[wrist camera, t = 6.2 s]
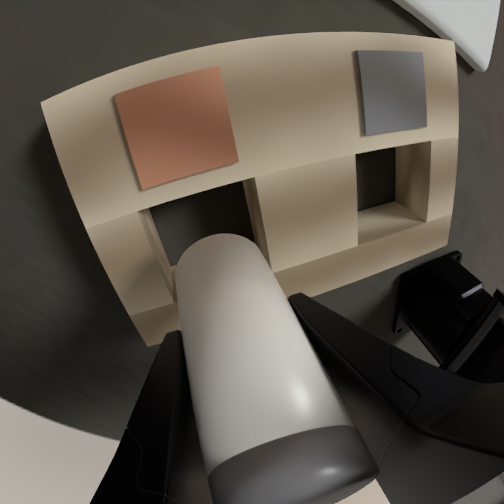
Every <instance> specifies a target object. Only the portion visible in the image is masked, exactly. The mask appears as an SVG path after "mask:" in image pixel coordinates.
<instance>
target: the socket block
mask: <svg viewBox="0 0 504 504" xmlns="http://www.w3.org/2000/svg"><path fill="white" fill-rule="evenodd" d="M41 106H42V109H43V113H44V116H45V120H46V123H47V126H48V130H49V133H50V136H51V139H52V142H53V145H54V148H55V151H56V154H57V157H58V160H59V163H60V166H61V168H62V171H63V174H64V177H65V179H66V182H67V184H68V187H69V190H70V192H71V195H72V197H73V200H74V202H75V205H76V207H77V209H78V212H79V214H80V217H81V219H82V221H83V224H84V226H85V228H86V230H87V233H88V235H89V237H90V239H91V242H92V244H93V246H94V248H95V250H96V252H97V254H98V256H99V259H100V261H101V263H102V265H103V267H104V269H105V271H106V273H107V275H108V277H109V279H110V281H111V283H112V285H113V287H114V288H115V290H116V292H117V294H118V296H119V298H120V300H121V302H122V304H123V305H124V307H125V309H126V311H127V313H128V314H129V316H130V318H131V320H132V321H133V323H134V325H135V327H136V328H137V330H138V332H139V334H140V335H141V337H142V339H143V340H144V342H145V344H146V345H147V347H149V346H152V345H156V344H160V343H162V341H163V339H164V337H165V334H166V333H168V332H171V331H175V330H180V331H181V325H180V317H179V309H178V300H177V291H176V281H175V272H176V267H177V265H175V266H171V267H170V264H169V261H168V259H167V256H166V254H165V251H164V248H163V246H162V243H161V240H160V237H159V235H158V232H157V229H156V226H155V224H154V221H153V218H152V215H151V212H150V209H149V207H152V206H155V205H159V204H162V203H165V202H168V201H171V200H175V199H178V198H181V197H185V196H188V195H192V194H195V193H198V192H202V191H205V190H209V189H212V188H216V187H220V186H223V185H227V184H231V183H234V182H238V181H242V182H243V186H244V191H245V196H246V201H247V206H248V211H249V216H250V220H251V225H252V230H253V235H254V240H255V242H253V243H254V244H255V245H256V246H257V247H258V248H259V249H260V251H261V252H262V254H263V256H264V258H265V259H266V261H267V263H268V265H269V267H270V269H271V270H272V272H273V274H274V276H275V278H276V279H277V281H278V283H279V285H280V287H281V289H282V290H283V292H284V294H285V296H286V298H287V299H288V297H289V296H290V295H293V294H296V293H299V292H301V293H304V294H305V295H307V296H309V297H313V296H316V295H319V294H322V293H324V292H327V291H330V290H333V289H336V288H338V287H341V286H344V285H347V284H349V283H352V282H355V281H358V280H360V279H363V278H366V277H368V276H371V275H374V274H376V273H379V272H381V271H384V270H387V269H389V268H392V267H394V266H397V265H399V264H402V263H405V262H407V261H410V260H412V259H414V258H417V257H419V256H422V255H424V254H427V253H429V252H432V251H434V250H436V249H439V248H441V247H443V246H446V245H447V242H448V237H449V230H450V224H451V217H452V209H453V201H454V193H455V183H456V171H457V156H458V128H459V105H458V78H457V64H456V53H455V43H454V41H450V40H444V39H437V38H430V37H422V36H414V35H403V34H391V33H372V32H319V33H300V34H287V35H277V36H268V37H259V38H252V39H245V40H238V41H232V42H226V43H221V44H215V45H210V46H205V47H200V48H196V49H191V50H187V51H183V52H179V53H175V54H171V55H167V56H163V57H160V58H156V59H153V60H149V61H146V62H142V63H139V64H136V65H133V66H130V67H127V68H124V69H121V70H118V71H115V72H112V73H109V74H107V75H104V76H101V77H98V78H96V79H93V80H91V81H88V82H86V83H83V84H81V85H78V86H76V87H74V88H71V89H69V90H67V91H64V92H62V93H60V94H58V95H56V96H53V97H51V98H49V99H47V100H45V101H43V102H41ZM390 147H395V149H396V185H395V201H393V202H390V203H386V204H383V205H379V206H376V207H372V208H369V209H365V210H362V211H358V212H357V180H356V160H355V154H359V153H364V152H369V151H374V150H379V149H385V148H390Z"/></svg>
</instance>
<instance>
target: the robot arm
mask: <svg viewBox="0 0 504 504" xmlns="http://www.w3.org/2000/svg"><path fill="white" fill-rule="evenodd" d="M461 258H462V253H460V252H459V251H458V250H457V251H454V252H452V253H450V254H448V255H445V256H443V257H441V258H439V259H436V260H434V261H432V262H430V263H427V264H425V265H423V266H420V267H418V268H416V269H413V270H411V271H408V272H406V273H405V274H404V275H403V276H402V277H401V282H400V289H399V295H398V302H397V308H396V313H395V319H394V324H393V332H394V334H395V335H399V334H401V333H403V332H405V331H407V330H409V329H411V330H412V331H413V333H414V334H415V335H416V336H417V337H418V339H419V340H420V341H421V342H422V344H423V345H424V346H425V347H426V348H427V350H428V351H429V352H430V353H431V355H432V356H433V357H434V358H435V360H436V361H437V362H438V363H439V365H440V366H439V367H436V366H434V365H432V364H429V363H427V362H425V361H423V360H421V359H418V358H416V357H414V356H413V355H411V354H409V353H407V352H405V351H403V350H401V349H400V348H398V347H396V346H394V345H391V344H390V343H389V342H387V341H385V340H384V339H382V338H380V337H378V336H377V335H375V334H373V333H371V332H370V331H368V330H366V329H364V328H363V327H361V326H359V325H357V324H356V323H354V322H352V321H350V320H349V319H347V318H345V317H343V316H342V315H340V314H338V313H336V312H335V311H333V310H331V309H329V308H328V307H326V306H324V305H323V304H321V303H319V302H317V301H316V300H314V299H312V298H310V297H309V296H307V295H305V294H304V293H301V292H299V293H296V294H293V295H290V296H289V297H288V301H289V303H290V305H291V307H292V309H293V310H294V312H295V314H296V316H297V318H298V320H299V321H300V323H301V325H302V327H303V329H304V331H305V332H306V334H307V336H308V338H309V340H310V342H311V343H312V345H313V347H314V349H315V351H316V353H317V354H318V356H319V358H320V360H321V362H322V364H323V365H324V367H325V369H326V371H327V373H328V375H329V377H330V378H331V380H332V382H333V384H334V386H335V388H336V389H337V391H338V393H339V395H340V397H341V399H342V401H343V402H344V404H345V406H346V408H347V410H348V412H349V414H350V415H351V417H352V419H353V421H354V423H355V425H356V427H357V428H358V430H359V432H360V434H361V436H362V438H363V440H364V442H365V443H366V445H367V447H368V449H369V451H370V453H371V455H372V457H373V458H374V460H375V462H376V464H377V466H378V468H379V470H380V473H379V475H378V476H377V477H376V480H377V481H378V483H379V485H380V487H381V488H382V490H383V492H384V494H385V495H386V497H387V499H388V500H389V502H390V504H504V293H503V292H501V291H500V290H498V289H496V291H495V292H494V294H493V297H492V296H491V295H490V294H489V293H488V292H486V291H485V290H484V289H483V284H482V282H481V281H479V280H478V279H477V278H476V277H475V276H474V275H472V274H471V273H470V272H469V271H468V270H467V269H465V268H464V267H463V266H462V265H461V264H460V263H461ZM127 428H128V429H127ZM127 428H126V429H125V431H124V434H123V437H122V439H121V441H120V444H119V446H118V448H117V451H116V453H115V455H114V458H113V459H112V461H111V463H110V466H109V468H108V470H107V472H106V473H105V475H104V477H103V479H102V481H101V483H100V485H99V487H98V489H97V491H96V492H95V494H94V496H93V498H92V500H91V502H90V504H213V500H212V496H211V492H210V488H209V484H208V479H207V475H206V470H205V466H204V461H203V457H202V452H201V447H200V442H199V437H198V432H197V427H196V422H195V416H194V411H193V405H192V399H191V393H190V387H189V381H188V375H187V368H186V362H185V355H184V348H183V340H182V333H181V331H180V330H175V331H171V332H168V333H166V334H165V337H164V339H163V341H162V343H161V346H160V348H159V350H158V353H157V355H156V357H155V359H154V362H153V364H152V366H151V369H150V371H149V373H148V376H147V378H146V381H145V383H144V385H143V388H142V390H141V392H140V395H139V397H138V400H137V402H136V405H135V407H134V409H133V412H132V414H131V417H130V419H129V422H128V424H127Z"/></svg>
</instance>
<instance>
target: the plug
mask: <svg viewBox="0 0 504 504" xmlns="http://www.w3.org/2000/svg"><path fill="white" fill-rule="evenodd" d="M175 281H176V291H177V300H178V309H179V317H180V325H181V333H182V340H183V348H184V355H185V362H186V368H187V375H188V381H189V387H190V393H191V399H192V405H193V411H194V416H195V422H196V427H197V432H198V437H199V442H200V447H201V452H202V457H203V461H204V466H205V470H206V475H207V479H208V484H209V488H210V492H211V496H212V500H213V504H334V503H337V502H339V501H341V500H343V499H345V498H347V497H348V496H350V495H352V494H354V493H355V492H357V491H359V490H360V489H362V488H363V487H365V486H366V485H368V484H369V483H370V482H372V481H373V480H374V479H375V478H376V477H377V476H378V475H379V473H380V470H379V468H378V466H377V464H376V462H375V460H374V458H373V457H372V455H371V453H370V451H369V449H368V447H367V445H366V443H365V442H364V440H363V438H362V436H361V434H360V432H359V430H358V428H357V427H356V425H355V423H354V421H353V419H352V417H351V415H350V414H349V412H348V410H347V408H346V406H345V404H344V402H343V401H342V399H341V397H340V395H339V393H338V391H337V389H336V388H335V386H334V384H333V382H332V380H331V378H330V377H329V375H328V373H327V371H326V369H325V367H324V365H323V364H322V362H321V360H320V358H319V356H318V354H317V353H316V351H315V349H314V347H313V345H312V343H311V342H310V340H309V338H308V336H307V334H306V332H305V331H304V329H303V327H302V325H301V323H300V321H299V320H298V318H297V316H296V314H295V312H294V310H293V309H292V307H291V305H290V303H289V301H288V299H287V298H286V296H285V294H284V292H283V290H282V289H281V287H280V285H279V283H278V281H277V279H276V278H275V276H274V274H273V272H272V270H271V269H270V267H269V265H268V263H267V261H266V259H265V258H264V256H263V254H262V252H261V251H260V249H259V248H258V247H257V246H256V245H255V244H254V243H253V242H252V241H250V240H249V239H247V238H245V237H242V236H239V235H236V234H215V235H211V236H208V237H205V238H202V239H200V240H198V241H197V242H195V243H194V244H192V245H191V246H190V247H189V248H188V249H187V250H186V251H185V252H184V253H183V255H182V256H181V257H180V259H179V261H178V264H177V267H176V272H175Z"/></svg>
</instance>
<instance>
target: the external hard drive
mask: <svg viewBox="0 0 504 504" xmlns="http://www.w3.org/2000/svg"><path fill="white" fill-rule="evenodd" d="M393 1H394V2H395V3H397V4H398V5H400V6H401V7H402V8H404V9H405V10H407V11H408V12H409V13H411V14H412V15H413V16H415V17H416V18H417V19H418V20H420V21H421V22H422V23H424V24H425V25H426V26H427V27H428V28H430V29H431V30H432V31H433V32H435V33H436V34H437V35H438V36H439V37H440V38H442V39H444V40H450V41H454V43H455V51H456V52H457V53H458V54H459V55H460V56H461V57H462V58H463V59H464V60H465V61H466V62H467V63H468V64H469V65H470V66H471V67H472V68H473V69H474V70H477V71H482V72H484V71H486V69H487V67H488V65H489V60H490V56H491V52H492V47H493V42H494V37H495V31H496V26H497V21H498V14H499V7H500V0H393Z"/></svg>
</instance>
